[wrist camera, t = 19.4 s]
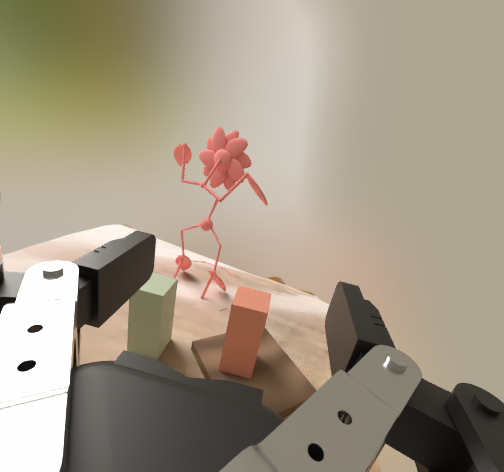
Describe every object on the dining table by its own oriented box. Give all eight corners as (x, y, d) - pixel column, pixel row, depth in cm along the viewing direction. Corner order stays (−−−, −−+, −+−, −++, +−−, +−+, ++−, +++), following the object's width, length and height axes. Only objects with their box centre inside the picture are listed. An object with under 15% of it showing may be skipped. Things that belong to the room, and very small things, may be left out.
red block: (250, 379, 42) (267, 313, 37) (218, 370, 42) (231, 304, 38) (255, 354, 46) (270, 293, 42) (226, 346, 47) (238, 285, 42)
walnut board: (191, 348, 47) (192, 341, 46) (260, 330, 54) (261, 324, 54) (234, 441, 34) (236, 432, 34) (315, 401, 42) (318, 393, 41)
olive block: (157, 360, 43) (163, 296, 39) (127, 352, 44) (129, 287, 39) (170, 339, 48) (177, 279, 44) (143, 331, 48) (147, 271, 44)
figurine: (229, 318, 56) (268, 137, 44) (146, 267, 67) (158, 113, 56) (267, 291, 68) (304, 145, 57) (191, 252, 80) (209, 124, 68)
